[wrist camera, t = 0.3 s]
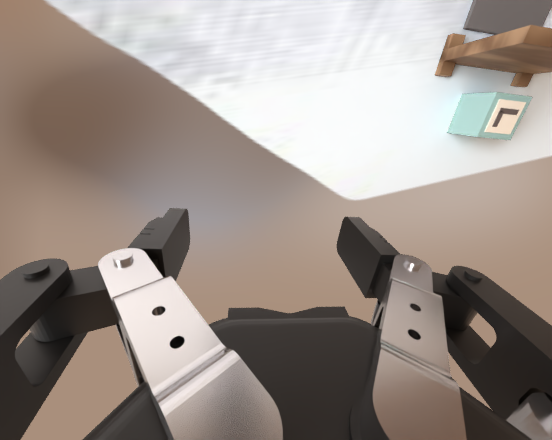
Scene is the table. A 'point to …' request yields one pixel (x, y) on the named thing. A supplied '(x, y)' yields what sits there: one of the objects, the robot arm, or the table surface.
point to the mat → (506, 15)
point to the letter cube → (489, 115)
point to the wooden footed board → (502, 53)
